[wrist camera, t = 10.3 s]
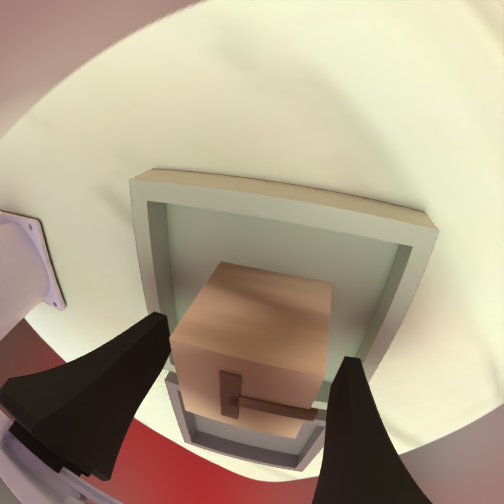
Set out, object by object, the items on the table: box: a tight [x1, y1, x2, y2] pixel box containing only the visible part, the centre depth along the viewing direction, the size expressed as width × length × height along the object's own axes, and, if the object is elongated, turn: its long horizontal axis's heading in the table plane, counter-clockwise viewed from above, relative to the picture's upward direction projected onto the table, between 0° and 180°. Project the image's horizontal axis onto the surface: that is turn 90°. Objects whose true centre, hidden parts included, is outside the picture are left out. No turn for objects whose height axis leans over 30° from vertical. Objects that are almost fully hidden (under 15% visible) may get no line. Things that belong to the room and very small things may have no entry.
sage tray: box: [129, 169, 439, 410], centre depth 13 cm, size 12×12×2 cm
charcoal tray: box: [165, 371, 327, 472], centre depth 19 cm, size 12×12×2 cm
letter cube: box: [169, 261, 332, 439], centre depth 12 cm, size 5×5×5 cm
